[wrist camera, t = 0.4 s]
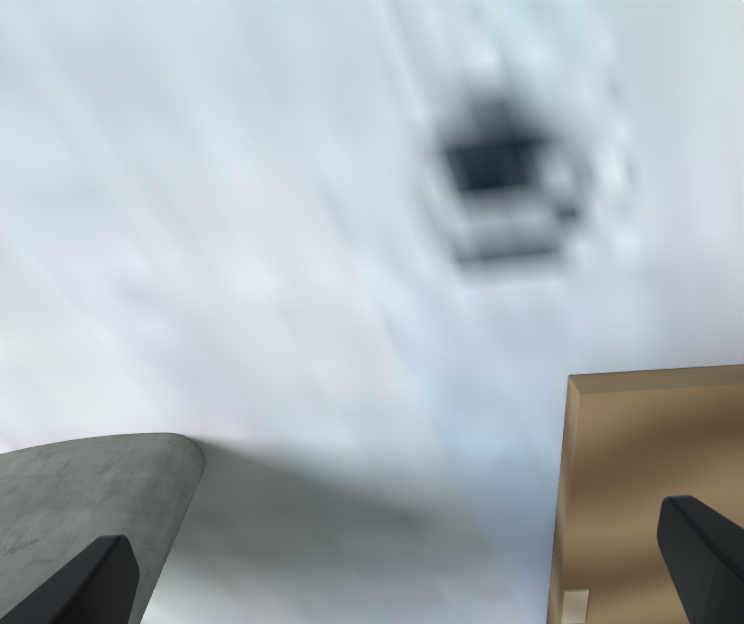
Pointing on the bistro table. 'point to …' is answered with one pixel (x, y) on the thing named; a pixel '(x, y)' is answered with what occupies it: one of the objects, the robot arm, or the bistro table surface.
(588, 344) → the bistro table surface
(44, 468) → the hip flask
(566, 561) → the board
